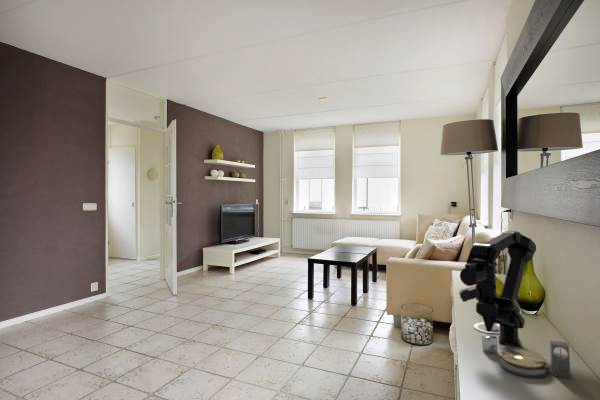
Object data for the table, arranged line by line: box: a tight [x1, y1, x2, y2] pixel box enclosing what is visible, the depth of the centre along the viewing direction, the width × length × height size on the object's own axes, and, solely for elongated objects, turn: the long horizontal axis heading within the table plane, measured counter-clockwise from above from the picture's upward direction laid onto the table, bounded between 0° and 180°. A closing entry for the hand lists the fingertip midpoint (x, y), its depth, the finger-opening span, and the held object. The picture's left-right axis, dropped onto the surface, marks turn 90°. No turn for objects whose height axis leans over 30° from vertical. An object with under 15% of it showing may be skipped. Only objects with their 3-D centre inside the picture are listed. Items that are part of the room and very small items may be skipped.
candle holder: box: [473, 321, 500, 334], centre depth 137 cm, size 12×12×4 cm
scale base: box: [499, 340, 572, 379], centre depth 103 cm, size 12×17×9 cm
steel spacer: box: [481, 333, 499, 355], centre depth 117 cm, size 4×4×5 cm
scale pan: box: [501, 348, 547, 369], centre depth 104 cm, size 11×11×1 cm
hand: (488, 326), depth 117 cm, fingers open, 9 cm apart
